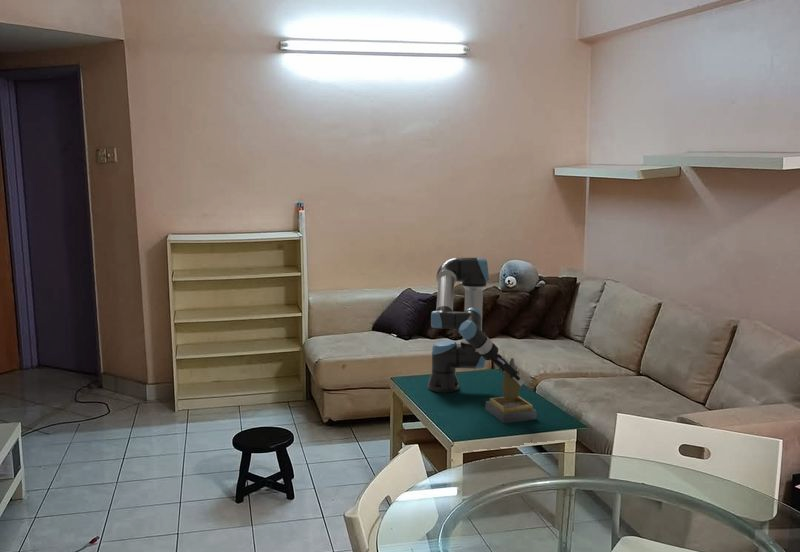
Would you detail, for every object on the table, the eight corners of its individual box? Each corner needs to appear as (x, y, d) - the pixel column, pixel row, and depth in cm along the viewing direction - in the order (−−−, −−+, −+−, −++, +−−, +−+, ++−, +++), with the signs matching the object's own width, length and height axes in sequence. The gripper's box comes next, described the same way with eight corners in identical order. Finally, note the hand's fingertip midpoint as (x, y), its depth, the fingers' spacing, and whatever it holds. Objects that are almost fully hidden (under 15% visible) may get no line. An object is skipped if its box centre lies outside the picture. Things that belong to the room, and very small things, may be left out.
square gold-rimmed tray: (485, 409, 356) (485, 397, 355) (516, 406, 361) (517, 393, 360) (503, 423, 339) (503, 410, 338) (536, 419, 344) (536, 406, 343)
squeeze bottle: (519, 401, 343) (521, 361, 340) (501, 399, 345) (502, 360, 342) (520, 395, 351) (522, 356, 348) (502, 394, 353) (503, 355, 350)
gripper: (471, 349, 348) (503, 381, 357) (490, 360, 331) (523, 394, 339) (482, 336, 349) (514, 369, 358) (502, 347, 331) (535, 381, 340)
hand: (518, 381), depth 348 cm, fingers closed on squeeze bottle, 6 cm apart
